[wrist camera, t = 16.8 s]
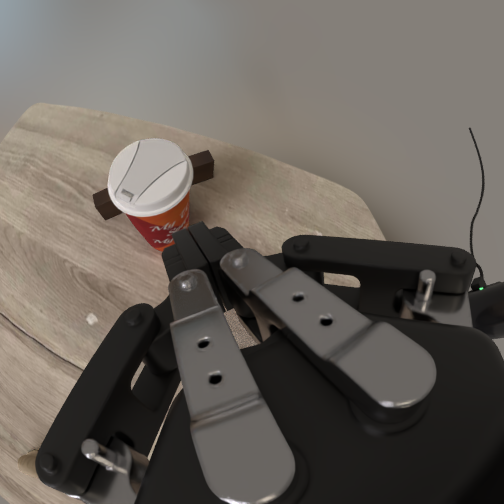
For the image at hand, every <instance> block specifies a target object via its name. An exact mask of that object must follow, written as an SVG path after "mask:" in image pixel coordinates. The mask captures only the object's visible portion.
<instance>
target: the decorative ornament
mask: <svg viewBox="0 0 504 504" xmlns="http://www.w3.org/2000/svg"><path fill="white" fill-rule="evenodd" d="M37 453H38V451H36V450H32V451H31V452H28V454H27V455H23V456H21V457H20V458H19V459H18V468H19V470H20V471H21V472H22V473H24V474H26V475H29V476H32V477H35V478H39V477H38V475H37V473H36V469H35V460H36V455H37Z"/></svg>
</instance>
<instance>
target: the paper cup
mask: <svg viewBox="0 0 504 504" xmlns="http://www.w3.org/2000/svg"><path fill="white" fill-rule="evenodd" d="M192 180H193V167H192V163H191V161H190V159H189V157H188V156H187V154H186V153H185V152H184V151H183V150H182V149H181V148H180V146H179V145H177V144H176V143H174V142H172V141H169V140H165V139H160V138H150V139H143V140H140V141H136V142H134V143H132V144H130V145H128V146H127V147H126V148H124V149H123V150H122V151H121V152H120V153H119V154H118V155H117V156H116V158H115V159H114V161H113V163H112V165H111V168H110V171H109V179H108V192H109V196H110V198H111V200H112V202H113V203H114V205H115V206H116V207H117V208H118V209H120V210H121V211H122V212H124V213H126V215H127V216H128V218H129V219H130V220H131V222H132V223H133V225H134V226H135V227H136V229H137V230H138V231H139V232H140V233H141V234H142V236H143V237H144V238H145V239H146V240H147V242H148V243H149V244H150V245H151V246H152V247H154V248H155V249H157V250H159V251H163V250H164V248H166V247H169V246H171V245H173V244H175V243H174V240H173V237H172V235H171V234H172V233H174V232H177V231H179V230H182V229H184V228H187V227H189V189H190V187H191V184H192ZM187 230H188V229H187Z"/></svg>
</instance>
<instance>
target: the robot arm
mask: <svg viewBox="0 0 504 504" xmlns="http://www.w3.org/2000/svg"><path fill="white" fill-rule="evenodd" d="M469 130H470V133H471V135H472V138H473V141H474V144H475V147H476V149H477V153H478V156H479V160H480V164H481V170H482V192H481V197H480V201H479V204H478V207H477V210H476V212H475V214H474V217H473V219H472V221H471V226H470V252H471V254H470V253H469V252H467V251H465V250H463V249H460V248H454V247H444V246H434V245H423V244H414V243H403V242H391V241H380V240H368V239H356V238H343V237H329V236H316V235H298V236H294V237H291V238H289V239H288V240H286V241H285V242H284V243H283V245H282V252H283V253H279V254H274V255H269V256H262V255H261V254H260V253H258V252H257V251H256V250H254V249H250V248H243V247H242V246H241V245H240V244H239V243H238V242H237V240H236V239H235V238H233V236H232V235H231V234H230V233H229V232H228V231H227V230H226V229H224V228H221V227H214V228H212V229H210V230H209V229H208V228H207V226H206V225H205V224H204V223H203V221H201V222H199V223H196V224H194V225H191V226H189V227H187V228H184V229H182V230H179V231H177V232H174V233H172V234H171V235H172V237H173V240H174V243H175V244H173V245H171V246H169V247H166V248H164V250H163V253H162V259H163V262H164V265H165V268H166V271H167V275H168V278H169V281H170V283H169V286H168V290H169V296H168V297H167V298H166V299H165V300H164V301H163V302H162V303H161V304H160V305H158V306H157V307H155V308H154V309H153V307H152V306H151V305H149V304H145V303H141V304H137V305H134V306H132V307H130V308H128V309H127V310H125V311H124V312H123V313H122V314H121V316H120V317H119V318H118V320H117V321H116V323H115V324H114V326H113V327H112V328H111V330H110V331H109V333H108V334H107V336H106V337H105V339H104V340H103V342H102V343H101V345H100V346H99V348H98V349H97V351H96V352H95V354H94V355H93V357H92V358H91V360H90V362H89V363H88V365H87V366H86V368H85V369H84V371H83V373H82V374H81V376H80V378H79V379H78V381H77V382H76V384H75V386H74V387H73V389H72V391H71V392H70V394H69V396H68V397H67V399H66V401H65V403H64V404H63V406H62V408H61V410H60V411H59V413H58V415H57V417H56V418H55V420H54V422H53V424H52V426H51V428H50V429H49V431H48V433H47V435H46V437H45V439H44V441H43V443H42V445H41V447H40V449H39V451H38V453H37V455H36V460H35V469H36V473H37V475H38V477H39V479H40V480H41V481H42V482H43V483H44V484H45V485H47V486H49V487H51V488H54V489H56V490H58V491H61V492H63V493H65V494H66V495H68V496H70V497H73V498H76V499H79V500H81V501H83V502H84V503H86V504H504V360H503V358H502V356H501V353H500V352H499V349H498V347H497V346H496V344H495V343H494V342H493V341H492V339H498V338H504V282H497V283H494V284H491V285H486V283H485V281H484V279H483V272H482V269H481V267H480V266H479V265H478V264H477V263H476V260H475V258H474V254H473V245H472V236H473V224H474V220H475V218H476V216H477V214H478V211H479V208H480V205H481V202H482V198H483V193H484V170H483V165H482V161H481V157H480V154H479V150H478V148H477V144H476V141H475V139H474V136H473V133H472V131H471V128H469ZM187 229H188V230H187ZM476 267H477V268H478V269H479V272H480V277H478V278H475V279H474V280H473V282H472V284H471V281H472V278H473V275H474V272H475V268H476ZM324 272H326V273H334V274H343V275H351V276H354V277H356V278H357V279H358V280H359V281H360V287H359V288H354V287H346V286H338V285H330V284H324ZM470 284H471V288H472V290H471V291H468V290H469V287H470ZM223 304H224V305H223ZM224 306H225V308H226V309H227V311H228V310H231V309H233V308H234V309H235V311H236V313H237V316H238V319H239V321H240V323H241V324H242V326H243V327H244V328H245V329H246V331H247V332H248V333H249V334H250V335H251V337H252V338H253V339H254V340H255V342H256V343H257V344H258V345H254V346H251V347H247V348H243V349H239V347H238V345H237V342H236V340H235V338H234V336H233V334H232V331H231V329H230V327H229V325H228V322H227V320H226V318H225V316H224V312H226V311H225V308H224ZM142 361H143V363H144V364H145V366H144V368H143V370H142V372H141V374H140V375H139V377H138V379H137V381H136V383H135V385H134V387H133V389H132V391H131V381H132V378H133V376H134V375H135V373H136V371H137V369H138V367H139V365H140V364H141V362H142ZM180 381H182V385H183V389H182V390H181V391H180V392H179V393H178V395H177V396H176V397H175V399H174V401H173V403H172V405H171V407H170V409H169V412H168V414H167V417H166V419H165V422H164V425H163V427H162V430H161V432H160V435H159V438H158V440H157V443H156V445H155V448H154V451H153V453H152V456H151V459H150V461H149V460H148V458H147V457H148V455H149V453H150V450H151V448H152V445H153V443H154V441H155V438H156V436H157V434H158V431H159V429H160V427H161V425H162V422H163V420H164V418H165V415H166V413H167V411H168V408H169V406H170V404H171V402H172V399H173V397H174V395H175V392H176V390H177V388H178V386H179V383H180Z"/></svg>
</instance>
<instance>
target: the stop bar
mask: <svg viewBox="0 0 504 504" xmlns="http://www.w3.org/2000/svg"><path fill="white" fill-rule="evenodd" d="M188 157H189V159H190V161H191V163H192V167H193V180H192V184H191V185H193V184H196V183H199V182H202V181H204V180H207V179H210V178H213V171H214V160H213V158H212V156H211V154H210V152H209V150H207V151H203V152H200V153H197V154H194V155H191V156H188ZM93 199H94V204H95V208H96V209H97V210H98V212H99V213H100V214H101V216H102V217H103V218H104V219H105V220H107V219H109V218H112V217H114V216H116V215H118V214H121V213H123V212H122V211H121V210H120V209H118V208H117V207H116V206H115V205H114V203H113V202H112V200H111V198H110V196H109V192H108V188H106V189H104V190H102V191H100V192H97V193H95V194H93Z"/></svg>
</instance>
